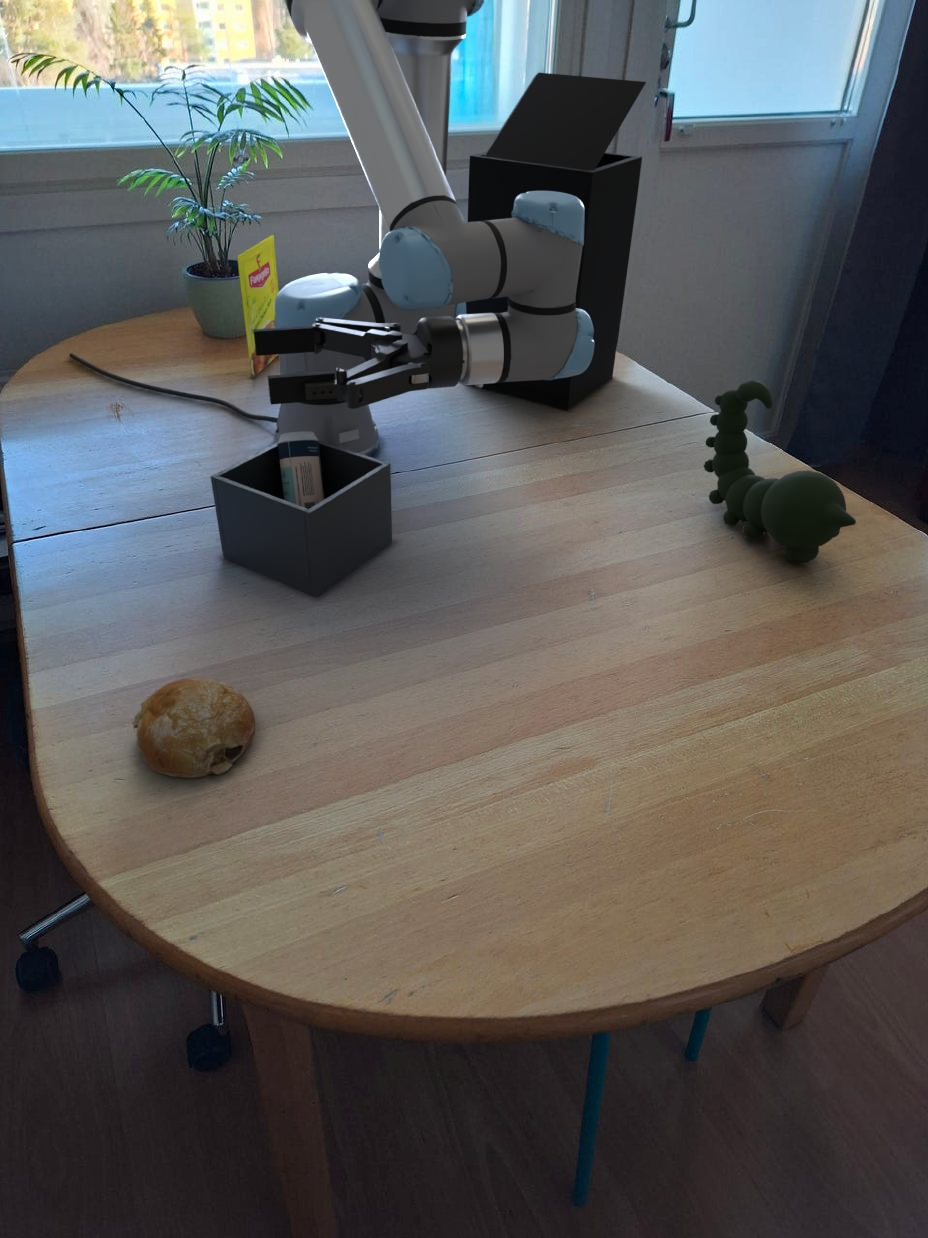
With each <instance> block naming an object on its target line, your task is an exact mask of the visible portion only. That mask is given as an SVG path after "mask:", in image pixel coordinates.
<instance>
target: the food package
mask: <svg viewBox="0 0 928 1238" xmlns="http://www.w3.org/2000/svg"><path fill="white" fill-rule="evenodd" d="M275 247H276V246H275V236H274V234H271V235H270V236H268V237H266V238H265V239H263V240H262V241H260V242H258V243H257V244H255V245H253V246H251V247H250V248H249V249H247V250H245V251H243V252H242V253H240V254H238V255H237V256H236V258H237V267H238V278H239V285H240V292H241V293H240V294H241V302H242V310H243V311H242V313H243V319H244V328H245V337H246V345H247V353H248V361H249V362H248V363H249V371H250V376H251V377H250V378H251V379H253V378H255V377H256V376H257V375H258V374H259V373H261V371H262V370H264V369H265V368H266V367H267V366H268V365H269V364H271V362H272V361H273V360H274V359H276V358H277V357H279V354H277V355H262V356H256V350H255V341H254V331H253V329H268V328H274V323H275V299H276V296H277V294H278V293H279V291H280V290H279V281H278V280H279V278H278V268H277V261H276V260H277V259H276V258H277V257H276V248H275Z"/></svg>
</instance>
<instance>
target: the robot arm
mask: <svg viewBox="0 0 928 1238" xmlns="http://www.w3.org/2000/svg"><path fill="white" fill-rule="evenodd" d="M284 3H285V6H286V10H287V12H288V15H289V17H290V20H291V22H292V25H293V27H294V28H295V30H296V33H298V35H299V37H301V38H302V39H303V40H304V41H306V42H308V43H310V44H311V45H312V48H313V50H314V52H315V55H316V57H317V60H318V63H319V64H320V67H321V70H322V73H323V74H324V78H325V80H326V82H327V85H328V87H329V89H330V92H331V94H332V96H333V99H334V101H335V104H336V107H337V110H338V111H339V113H340V117H341V119H342V122H343V124H344V126H345V128H346V131H347V133H348V136H349V138H350V141H351V144H352V145H353V148H354V150H355V153H356V156H357V159H358V160H359V163H360V166H361V167H362V170H363V172H364V175H365V177H366V180H367V182H368V185H369V187H370V189H371V193H372V195H373V197H374V200H375V201H376V204H377V207H378V209H379V251H378V253H377V255H376V256H374V258H372V259H371V260H370V261H369V263H368V279H367V282H366V283H361V282H360V281H359V280H358V278H357V277H356V276H354V275H352V274H348V273H343V272H334V273H327V272H323V273H316V274H311V275H307V276H303V277H300V278H297V279H295V280H293V281H290V282H289V283H287V284H285V285H284V286H283V287H282V288H281V289H280V290H279V293H278V294H277V296H276V299H275V323H274V328H268V329H253V331H254V341H255V350H256V356H262V355H277V354H279V355H278V362H279V374H269V375H267V383H268V395H269V403H270V405H280V407H279V410H278V415H277V417H274V416H268V415H258V414H253V413H249V412H247V411H245V410H243V409H241V408H239V407H238V406H237V405H234V404H233V403H230V402H228V401H226V400H223V399H220V398H216V397H211V396H207V395H201V394H195V393H190V392H185V391H181V390H174V389H171V388H165V387H161V386H157V385H151V384H148V383H143V382H139V381H136V380H132V379H129V378H127V377H123V376H121V375H117V374H114V373H112V372H109V371H107V370H105V369H102V368H100V367H98V366H97V365H94V364H92V363H90V362H88V361H87V360H85V359H83V358H82V357H80V356H78V355H76V354H74V353H73V352H70V353H69V357H70V358H71V359H73V360H74V361H76V362H78V363H79V364H81V365H83V366H85V367H86V368H89V369H90V370H92V371H94V372H96V373H99V374H100V375H103V376H105V377H107V378H110V379H112V380H115V381H118V382H121V383H124V384H127V385H130V386H134V387H138V388H142V389H145V390H150V391H153V392H158V393H163V394H167V395H172V396H178V397H182V398H186V399H192V400H197V401H204V402H208V403H213V404H216V405H217V404H218V405H221V406H224V407H226V408H228V409H230V410H232V411H233V412H235V413H237V414H238V415H240V416H242V417H244V418H247V419H250V420H256V421H261V422H270V423H276V425H275V428H274V432H273V442H274V443H273V444H275V443H277V442H278V441H279V438H280V435H281V434H284V433H290V432H300V431H312V432H314V434H315V436H316V438H317V439H318V440H320V441H323V442H326V443H329V444H332V445H335V446H338V447H341V448H344V449H347V450H350V451H353V452H356V453H360V454H363V455H366V456H369V457H371V456H372V455H373V454H375V453H376V452H377V450H378V448H379V444H380V443H379V441H380V440H379V439H380V438H379V437H380V436H379V431H378V427H377V425H376V422H375V420H374V419H373V415H372V412H371V409H370V405H372V404H375V403H378V402H381V401H384V400H387V399H391V398H393V397H397V396H400V395H404V394H406V393H410V392H416V391H423V390H429V389H430V390H431V389H441V388H454V387H456V386H457V385H458V384H459V383H460V385H462V386H472V385H475V386H476V387H475V386H474V387H475V388H479V387H482V386H483V384H487V383H501V382H512V381H529V380H553V379H558V378H565V377H570V376H575V375H579V374H581V373H583V372H584V371H585V370H586V369H587V368H588V366H589V364H590V362H591V360H592V357H593V353H594V344H595V342H594V340H593V333H594V328H593V324H592V321H591V319H590V317H589V315H588V314H587V312H586V311H584V310H582V309H579V308H576V305H575V302H576V299H575V296H576V289H577V282H578V275H579V268H580V261H581V254H582V247H583V245H584V223H585V221H584V205H583V203H582V202H581V200H580V199H578V198H577V197H575V196H573V195H570V194H567V193H562V192H555V191H529V192H526V193H522V194H520V195H518V196H517V197H516V199H515V201H514V208H513V211H512V212H511V213H512V218H507V219H497V220H486V221H478V222H468V221H466V220H465V218H464V216H463V214H462V211H461V210H460V208H459V205H458V202H457V200H456V198H455V196H454V193H453V190H452V188H451V186H450V183H449V182H448V179H447V162H448V145H449V124H450V105H451V86H452V85H451V84H452V83H451V82H452V66H453V65H452V63H453V53H454V50H455V49H456V48H457V47H458V46H459V45H460V44H461V43H462V42H463V40H464V39H465V38H466V36H467V21H468V17H469V18H470V17H472V16H473V15H474V14H476V13H478V12H479V11H480V10H481V8H482V7H483V6H484V4H485V0H284ZM500 297H508V301H507V303H508V311H507V312H504V313H481V314H466V302H470V301H476V300H482V299H493V298H500Z"/></svg>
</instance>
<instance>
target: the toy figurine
mask: <svg viewBox="0 0 928 1238" xmlns="http://www.w3.org/2000/svg"><path fill="white" fill-rule="evenodd" d="M754 400H758V401H760V402H761V403H762V405H763V406H764V407H765V409H768V410H770V409H771V408H772V407H773V398H772V393H771V391H770V390H769V388H768V386H767V385H766V384H765V383H763V382H761V381H758V380H755V379H753V380H746V381H744V382H742V383H740V385H739V386H738V387H737V388H732V389H729V390H726V391H725V392H724V393H723V394H722V395H717V396H715V398H714V403H715V405H716V406H719V409H720V411H719V412H718V414H717V413H716V414H712V415H711V416H710V418H709V423H710V425H712V426H714V427H715V426H716V429H717V431H718V432H716V434H715V436H708V437H707V438H706V439H705V441H704V442H705V446H706V447H708V448H711V449H713V450H714V452H715V454H714V455H713V458H712V459H711V458H710V459H707V460H706V461H704V463H703V469H704V471H705V472H708V473H711V474H712V473H714V475H715V476H716V477H717V478H718V479H717V489H713V490H711V491H710V492H709V494H708V500H709V502H710V503H711V504H713V505H722V504H723V503H724V502H725V507H726V509H727V510H726V511H725V513H724V514H723V516H722V518H723V522H724V524H725V525H727V526H728V527H729V526H730V527H734V526H736V525H738V523H739V522H742V523H744V524H743V526H742V533H743V535H744V537H745V538H747V539H748V540H750V541H751V540H756V539H760V538H762V537H763V536H764V533H765V534H768V535H769V536H770V537H771V538H772V540H774V541H775V542H777V543H778V544H779V545H780V546H783V547H785V548H784V550H783V553H784V557H785V560H786V561H787V562H788V563H790V564H793V565H804V564H807V563H810V562H812V561H814V560H815V559H816V558H817V557H818V555H819V553H820V550H819V549H820V547H822V546H824V545H826V544H827V543H830V541H832V540H833V539H834V538H836V537H838V536H839V535H840V532H841V529H842V528H845V527H850V526H854V525H856V524H857V520H856V518H854V517H853V516H852V515H851V514H850V513H848V512H847V503H846V498H845V495H844V493H843V490H842V489H841V488H840V486H839V485H838V484H837V482H836V481H835V480H833V479H832V478H831V477H829V476H828V475H826V474H824V473H823V472H822V473H821V472H818V471H813V470H796V471H793V472H790V473H787V474H785V475H783V476H781V477H780V478H774V477H770V478H765V477H763V476H760V475H758V474H756V472H754V470H752V469H751V468H750V458H749V455H748V454H747V452H746V449H747V446H748V437H747V435H746V433H745V430H746V429H747V426H748V423H749V417H748V414H747V413H746V410H747V408H748V404H749V402H752V401H754Z"/></svg>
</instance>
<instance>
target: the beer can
mask: <svg viewBox="0 0 928 1238" xmlns="http://www.w3.org/2000/svg"><path fill="white" fill-rule="evenodd" d="M278 450H279V459H280V467H281V476H282V485H283V493H284V500H285V501H288V502H291V503H293V504H296V505H299V506H301V507H304V508H307V509H310V508H311V507H313V506H315V505H316V504H318V503H320V502H321V501H323V500H325V496H324V487H323V478H322V469H321V460H320V451H319V442H318V439H317V438H316V436H315V434H314V432H312V431H300V432H290V433H284V434H281V435H280V438H279V441H278Z"/></svg>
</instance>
